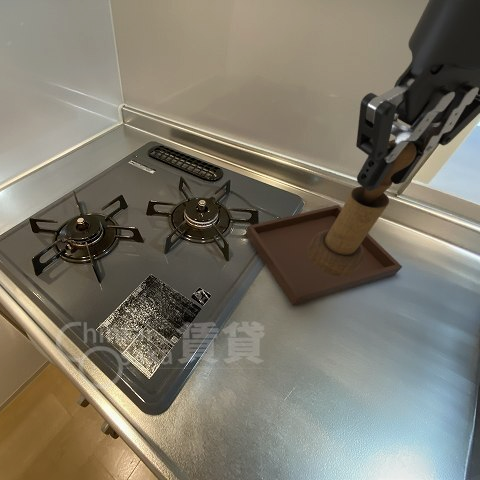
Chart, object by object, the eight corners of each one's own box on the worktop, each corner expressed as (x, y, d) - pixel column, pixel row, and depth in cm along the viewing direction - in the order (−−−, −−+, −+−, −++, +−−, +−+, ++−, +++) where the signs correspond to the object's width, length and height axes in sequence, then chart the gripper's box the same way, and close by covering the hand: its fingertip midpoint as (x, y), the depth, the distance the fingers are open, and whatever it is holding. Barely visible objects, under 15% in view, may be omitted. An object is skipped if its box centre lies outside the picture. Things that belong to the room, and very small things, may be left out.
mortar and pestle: (304, 266, 43) (366, 151, 29) (309, 235, 47) (367, 120, 33) (356, 283, 41) (449, 167, 27) (358, 248, 45) (439, 132, 31)
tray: (332, 214, 69) (338, 204, 67) (393, 276, 58) (402, 266, 56) (245, 235, 65) (247, 225, 63) (292, 306, 54) (297, 297, 52)
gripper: (482, -2, 17) (349, 219, 30) (645, -20, 20) (459, 190, 33) (381, -23, 22) (303, 175, 35) (523, -36, 25) (402, 153, 38)
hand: (379, 182), depth 34 cm, fingers closed on mortar and pestle, 3 cm apart
